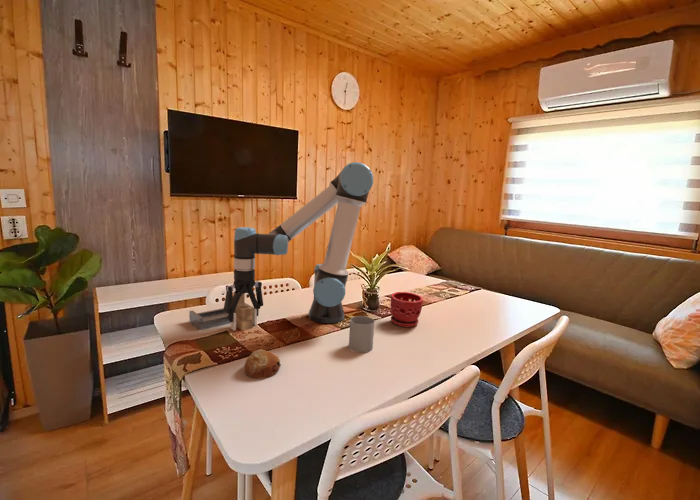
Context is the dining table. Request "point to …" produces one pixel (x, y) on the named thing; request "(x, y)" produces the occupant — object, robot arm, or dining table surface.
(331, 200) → the robot arm
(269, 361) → the bread roll
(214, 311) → the grey tray
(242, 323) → the block
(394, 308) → the plant pot
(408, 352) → the dining table surface
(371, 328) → the cup
